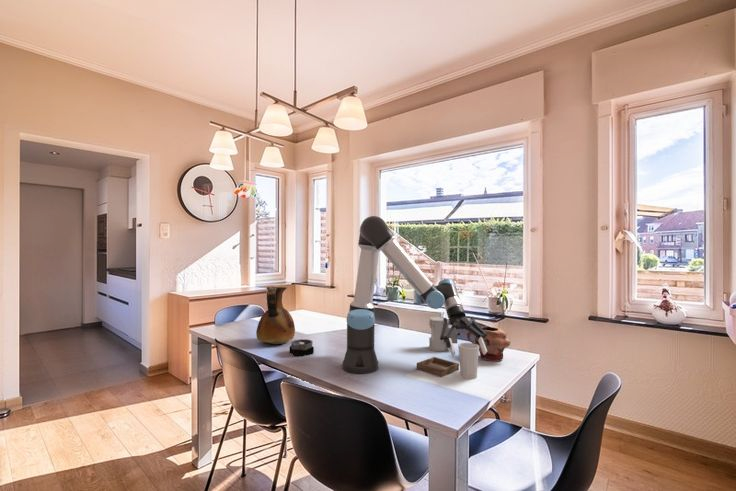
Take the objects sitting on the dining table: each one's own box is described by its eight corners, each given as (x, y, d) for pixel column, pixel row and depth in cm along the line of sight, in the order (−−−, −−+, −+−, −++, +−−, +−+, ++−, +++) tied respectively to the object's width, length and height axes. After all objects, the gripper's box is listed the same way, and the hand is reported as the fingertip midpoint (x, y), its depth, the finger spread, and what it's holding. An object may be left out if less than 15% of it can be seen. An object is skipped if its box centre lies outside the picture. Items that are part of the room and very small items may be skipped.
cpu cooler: (307, 337, 173) (316, 342, 165) (306, 349, 173) (316, 354, 165) (287, 340, 167) (295, 345, 159) (287, 352, 167) (295, 358, 159)
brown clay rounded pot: (461, 357, 161) (462, 327, 161) (470, 351, 171) (470, 322, 171) (507, 365, 150) (507, 333, 150) (513, 358, 160) (513, 328, 160)
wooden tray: (441, 377, 136) (441, 370, 136) (416, 369, 145) (416, 363, 145) (458, 369, 144) (458, 363, 144) (434, 362, 153) (434, 356, 153)
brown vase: (297, 337, 195) (297, 284, 195) (291, 347, 175) (292, 288, 175) (261, 338, 194) (262, 284, 194) (252, 348, 174) (252, 288, 174)
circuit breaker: (460, 351, 171) (460, 320, 171) (431, 350, 171) (431, 320, 171) (457, 346, 178) (457, 317, 179) (429, 346, 179) (429, 317, 179)
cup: (454, 373, 140) (454, 343, 140) (470, 371, 142) (470, 342, 143) (466, 380, 132) (466, 349, 132) (483, 378, 135) (483, 347, 135)
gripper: (478, 313, 159) (495, 356, 144) (425, 315, 155) (437, 359, 140) (483, 303, 154) (501, 347, 139) (429, 305, 150) (442, 350, 135)
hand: (469, 353), depth 140 cm, fingers open, 13 cm apart
